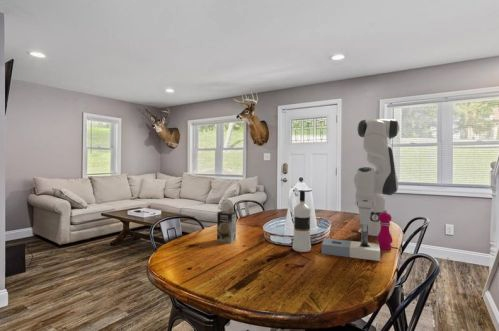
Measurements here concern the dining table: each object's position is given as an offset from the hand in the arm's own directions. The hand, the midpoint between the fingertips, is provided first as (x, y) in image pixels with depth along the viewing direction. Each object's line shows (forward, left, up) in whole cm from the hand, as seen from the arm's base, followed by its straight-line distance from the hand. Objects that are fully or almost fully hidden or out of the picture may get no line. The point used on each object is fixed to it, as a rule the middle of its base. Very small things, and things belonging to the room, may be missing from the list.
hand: (364, 230), depth 137 cm
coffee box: (+5, -71, -12) cm, 73 cm away
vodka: (+4, -29, -12) cm, 32 cm away
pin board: (0, -6, -12) cm, 14 cm away
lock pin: (0, 0, -9) cm, 9 cm away
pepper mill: (-16, +10, -12) cm, 22 cm away
